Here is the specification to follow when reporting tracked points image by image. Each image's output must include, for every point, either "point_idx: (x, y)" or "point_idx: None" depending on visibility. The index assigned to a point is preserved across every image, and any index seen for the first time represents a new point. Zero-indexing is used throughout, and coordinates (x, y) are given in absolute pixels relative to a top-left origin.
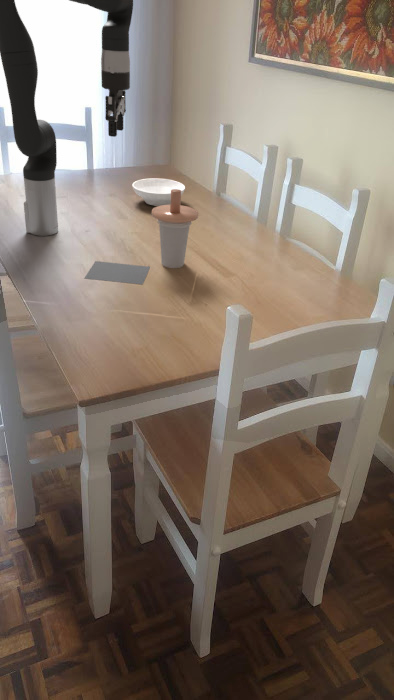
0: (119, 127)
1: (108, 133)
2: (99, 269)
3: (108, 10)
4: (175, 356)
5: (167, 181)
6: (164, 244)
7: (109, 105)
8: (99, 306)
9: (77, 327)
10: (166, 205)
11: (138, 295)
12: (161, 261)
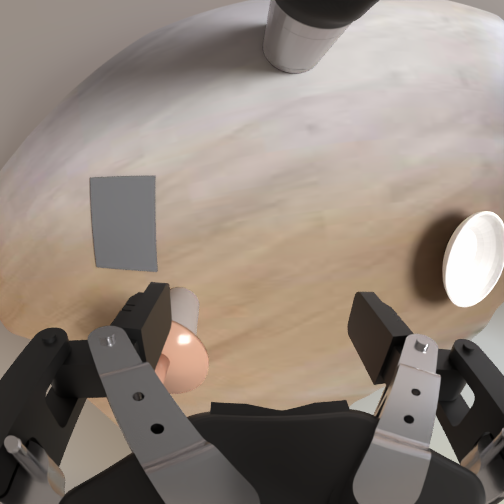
0: (356, 320)
1: (149, 285)
2: (123, 192)
3: None
4: (5, 305)
5: (498, 270)
6: None
7: (26, 435)
8: (37, 221)
9: (4, 210)
10: (196, 345)
11: (72, 264)
12: (174, 289)
